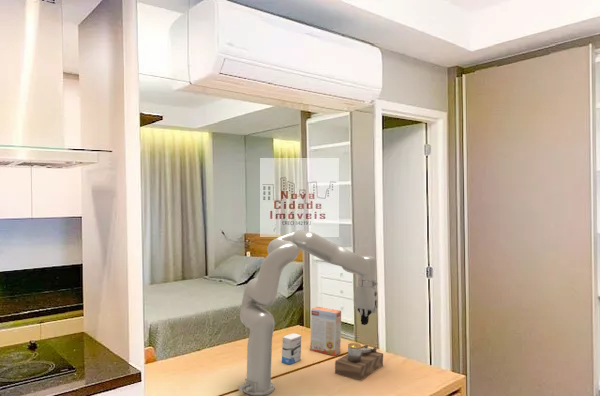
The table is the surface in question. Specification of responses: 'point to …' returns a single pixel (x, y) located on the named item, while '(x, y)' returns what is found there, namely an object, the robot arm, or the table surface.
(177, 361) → the table surface
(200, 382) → the table surface
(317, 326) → the cracker box
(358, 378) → the block
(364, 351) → the keeper bar
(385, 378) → the table surface
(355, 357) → the gold-lidded jar
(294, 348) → the ink box
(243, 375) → the table surface
